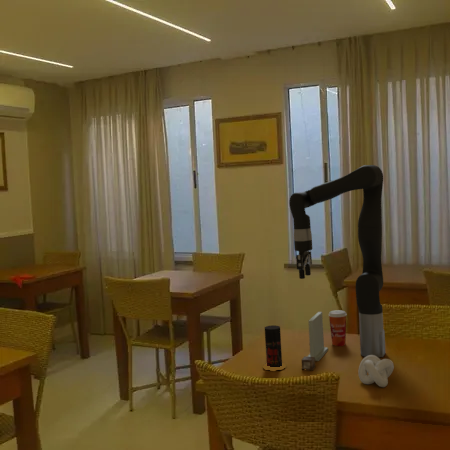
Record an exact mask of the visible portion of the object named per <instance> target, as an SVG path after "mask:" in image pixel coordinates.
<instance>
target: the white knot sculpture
mask: <svg viewBox="0 0 450 450" xmlns="http://www.w3.org/2000/svg"><path fill="white" fill-rule="evenodd" d="M394 365H395V364H394V362H393V361H392V360H391V359H390V358H383V359H381V358H380V357H377V356H375V355H368V356H366V357H363V358H362V360H361V361H360V363H359V366H358V373H357V374H358V378H359V380H360V382H361V383H363V384H364V385H368V386H369V385H371V384H374V383H375V384H376V385H377V386H378V387H380V388H385V387H387V386H388V385H389V384H388V383H389V380H388V378H389V377H390V376H391V375H392V374H393V372H394V368H395V366H394Z"/></svg>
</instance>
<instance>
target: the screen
mask: <svg viewBox="0 0 450 450" xmlns="http://www.w3.org/2000/svg"><path fill="white" fill-rule="evenodd" d="M323 319H324V317H323V311H317V312H316V314H314V315H313V316H312V317H311V318H310V319H309V320H308V337H309V353H308V355H307V356H306V357H315V362H319V361H320V360H321V359H322V358H323V357H324V356H325V354H326V353H327V352H328V351H329V347H326V346H325V344H324V342H325V341H324V327H323V326H324V323H323Z"/></svg>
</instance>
